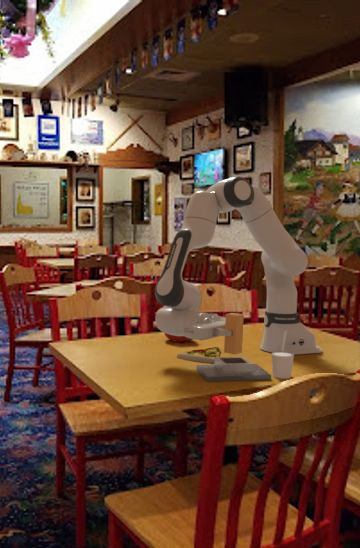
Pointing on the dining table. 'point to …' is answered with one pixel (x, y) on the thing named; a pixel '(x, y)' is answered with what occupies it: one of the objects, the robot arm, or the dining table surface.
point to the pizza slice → (201, 355)
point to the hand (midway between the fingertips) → (236, 332)
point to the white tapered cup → (282, 364)
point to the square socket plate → (232, 370)
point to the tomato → (178, 338)
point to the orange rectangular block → (234, 333)
